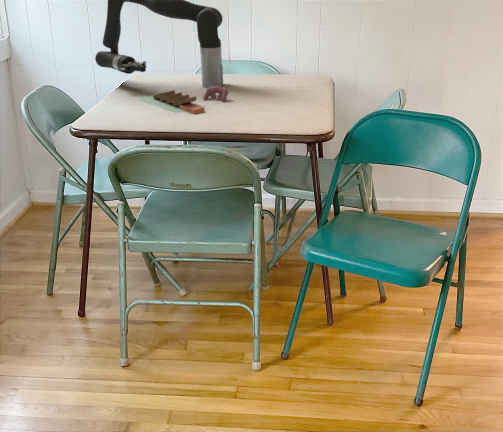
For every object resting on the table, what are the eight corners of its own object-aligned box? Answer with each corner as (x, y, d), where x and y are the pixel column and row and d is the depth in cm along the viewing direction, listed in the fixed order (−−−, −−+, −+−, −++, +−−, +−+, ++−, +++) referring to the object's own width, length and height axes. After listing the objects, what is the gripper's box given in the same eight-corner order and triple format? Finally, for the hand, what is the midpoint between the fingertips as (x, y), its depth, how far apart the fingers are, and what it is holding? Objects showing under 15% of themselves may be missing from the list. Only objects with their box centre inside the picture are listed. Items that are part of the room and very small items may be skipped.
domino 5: (179, 104, 249) (193, 109, 242) (189, 102, 252) (204, 107, 245) (179, 108, 250) (193, 113, 243) (190, 106, 253) (204, 111, 246)
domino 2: (159, 97, 260) (170, 94, 252) (169, 95, 263) (181, 92, 255) (160, 101, 260) (171, 98, 252) (170, 99, 263) (182, 96, 255)
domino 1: (152, 95, 264) (164, 92, 256) (163, 93, 267) (174, 89, 258) (153, 99, 264) (165, 96, 256) (163, 97, 267) (175, 93, 259)
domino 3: (166, 100, 256) (178, 96, 248) (176, 97, 259) (188, 94, 251) (167, 104, 257) (179, 100, 249) (177, 101, 259) (189, 98, 251)
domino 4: (172, 102, 253) (185, 98, 245) (183, 100, 256) (195, 96, 247) (173, 106, 253) (186, 102, 245) (184, 104, 256) (196, 100, 248)
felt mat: (136, 99, 266) (136, 98, 266) (165, 93, 274) (165, 92, 274) (175, 113, 245) (175, 112, 245) (205, 106, 253) (205, 106, 252)
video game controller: (227, 104, 261) (230, 87, 261) (223, 102, 257) (226, 85, 257) (206, 102, 265) (209, 85, 265) (201, 100, 261) (204, 83, 261)
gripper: (109, 57, 276) (129, 62, 264) (136, 53, 283) (156, 58, 271) (112, 74, 279) (131, 80, 267) (138, 69, 287) (158, 75, 274)
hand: (143, 69), depth 269 cm, fingers closed
